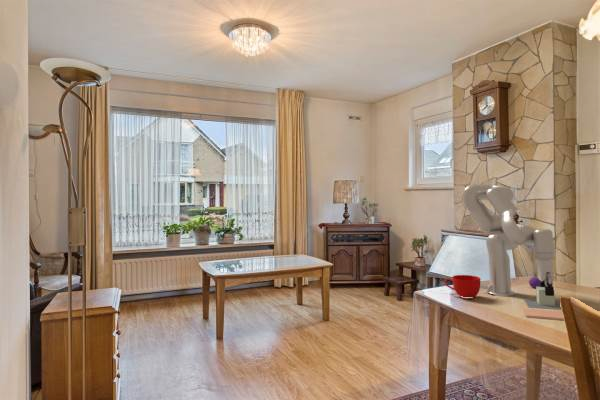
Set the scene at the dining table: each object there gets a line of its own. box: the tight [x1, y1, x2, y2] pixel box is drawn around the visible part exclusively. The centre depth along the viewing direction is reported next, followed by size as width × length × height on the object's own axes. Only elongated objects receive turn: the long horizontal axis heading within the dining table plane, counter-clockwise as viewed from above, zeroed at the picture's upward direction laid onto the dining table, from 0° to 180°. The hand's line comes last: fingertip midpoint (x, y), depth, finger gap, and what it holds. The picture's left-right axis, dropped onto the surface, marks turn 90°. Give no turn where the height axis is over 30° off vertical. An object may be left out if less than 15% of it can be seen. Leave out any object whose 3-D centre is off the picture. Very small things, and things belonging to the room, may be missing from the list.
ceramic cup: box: [444, 274, 481, 298], centre depth 184 cm, size 13×17×10 cm
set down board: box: [522, 308, 565, 321], centre depth 152 cm, size 14×10×1 cm
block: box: [535, 287, 556, 306], centre depth 166 cm, size 6×6×7 cm
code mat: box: [523, 299, 562, 311], centre depth 165 cm, size 16×14×1 cm
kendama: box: [528, 275, 541, 289], centre depth 202 cm, size 6×6×20 cm
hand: (547, 293), depth 166 cm, fingers open, 9 cm apart
